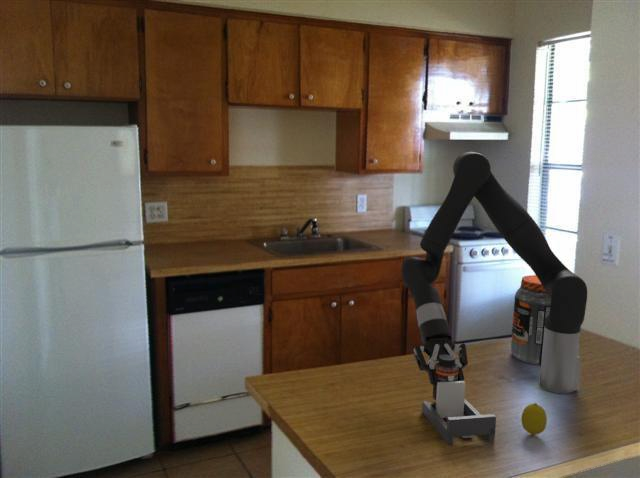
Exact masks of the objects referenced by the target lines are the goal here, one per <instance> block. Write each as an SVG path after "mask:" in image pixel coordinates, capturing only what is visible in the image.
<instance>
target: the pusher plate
mask: <svg viewBox="0 0 640 478" xmlns="http://www.w3.org/2000/svg"><path fill="white" fill-rule="evenodd" d="M465 396H466V381H465V380H464V381H452V382H437V396H436V400H435V402H436V412H437V413H438V414H439V415H440V417H441V418H442V419H446V420H447V418H448V417H461V416H464V414H463V413H464V399H466V397H465ZM461 438H463V439H470V438H474V435H471V436H461Z"/></svg>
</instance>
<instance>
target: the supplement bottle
mask: <svg viewBox="0 0 640 478" xmlns="http://www.w3.org/2000/svg"><path fill="white" fill-rule="evenodd" d="M434 370H435V371H436V375H437V379H438V382H452V381H458V367H457V366H456V365H455V357H454V356H451V355H440V356H439V360H438V361H437V363H435V366H434ZM436 396H437V386H433V385H432V398H433V400H434V401H436Z"/></svg>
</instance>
